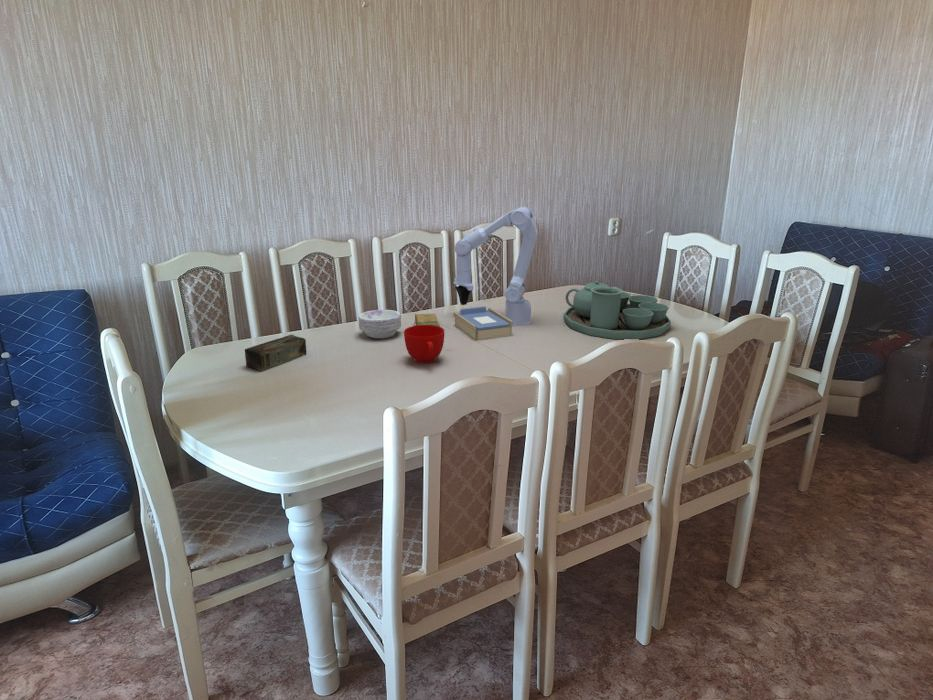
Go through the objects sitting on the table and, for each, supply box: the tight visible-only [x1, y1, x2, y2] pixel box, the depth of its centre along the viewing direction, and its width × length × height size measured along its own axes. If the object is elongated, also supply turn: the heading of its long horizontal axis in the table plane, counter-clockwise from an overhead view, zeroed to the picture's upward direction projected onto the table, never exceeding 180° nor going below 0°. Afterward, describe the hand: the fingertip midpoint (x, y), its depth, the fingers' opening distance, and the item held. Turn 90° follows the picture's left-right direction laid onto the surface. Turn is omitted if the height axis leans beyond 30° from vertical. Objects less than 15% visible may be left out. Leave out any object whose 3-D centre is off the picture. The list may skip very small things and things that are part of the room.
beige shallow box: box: [452, 307, 514, 341], centre depth 222 cm, size 15×20×6 cm
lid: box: [457, 305, 510, 330], centre depth 222 cm, size 13×20×3 cm, turn 23°
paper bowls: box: [358, 309, 402, 340], centre depth 218 cm, size 15×15×8 cm
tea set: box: [562, 280, 672, 340], centre depth 230 cm, size 40×40×16 cm
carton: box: [414, 313, 440, 327], centre depth 226 cm, size 8×16×4 cm, turn 8°
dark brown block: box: [244, 334, 307, 372], centre depth 193 cm, size 8×19×7 cm, turn 147°
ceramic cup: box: [403, 325, 445, 364], centre depth 192 cm, size 13×17×10 cm
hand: (463, 304), depth 237 cm, fingers closed
